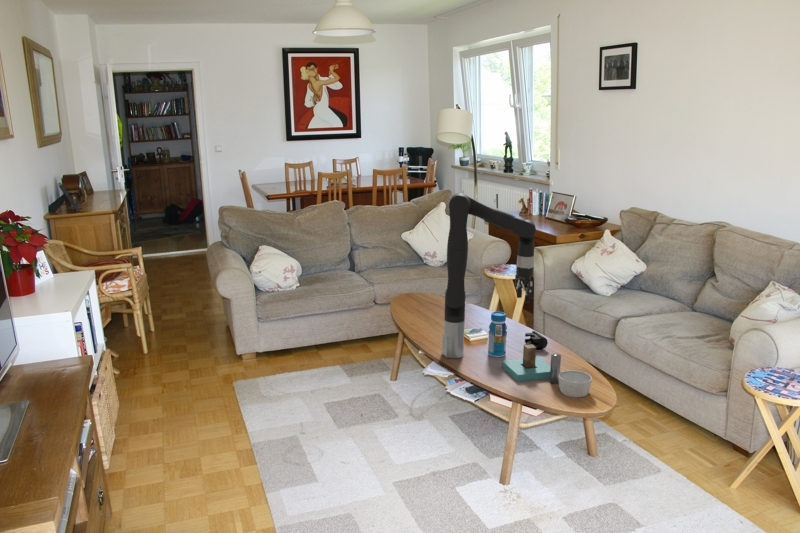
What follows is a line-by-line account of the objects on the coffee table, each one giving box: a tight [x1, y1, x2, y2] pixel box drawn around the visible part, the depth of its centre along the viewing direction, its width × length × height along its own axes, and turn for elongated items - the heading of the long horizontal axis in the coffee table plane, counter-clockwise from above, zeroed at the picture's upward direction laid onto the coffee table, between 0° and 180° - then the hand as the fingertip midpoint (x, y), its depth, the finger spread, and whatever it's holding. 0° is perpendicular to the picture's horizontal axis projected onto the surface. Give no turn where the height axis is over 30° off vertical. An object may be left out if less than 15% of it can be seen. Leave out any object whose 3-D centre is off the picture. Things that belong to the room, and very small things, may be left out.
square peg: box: [522, 344, 537, 369], centre depth 290 cm, size 4×4×12 cm
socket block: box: [501, 356, 551, 382], centre depth 291 cm, size 18×16×3 cm
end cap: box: [524, 330, 549, 351], centre depth 320 cm, size 10×7×7 cm
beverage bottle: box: [487, 311, 508, 358], centre depth 309 cm, size 8×8×20 cm
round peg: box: [549, 353, 562, 385], centre depth 280 cm, size 4×4×12 cm
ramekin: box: [558, 369, 593, 398], centre depth 272 cm, size 13×13×7 cm
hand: (523, 300), depth 299 cm, fingers open, 8 cm apart
